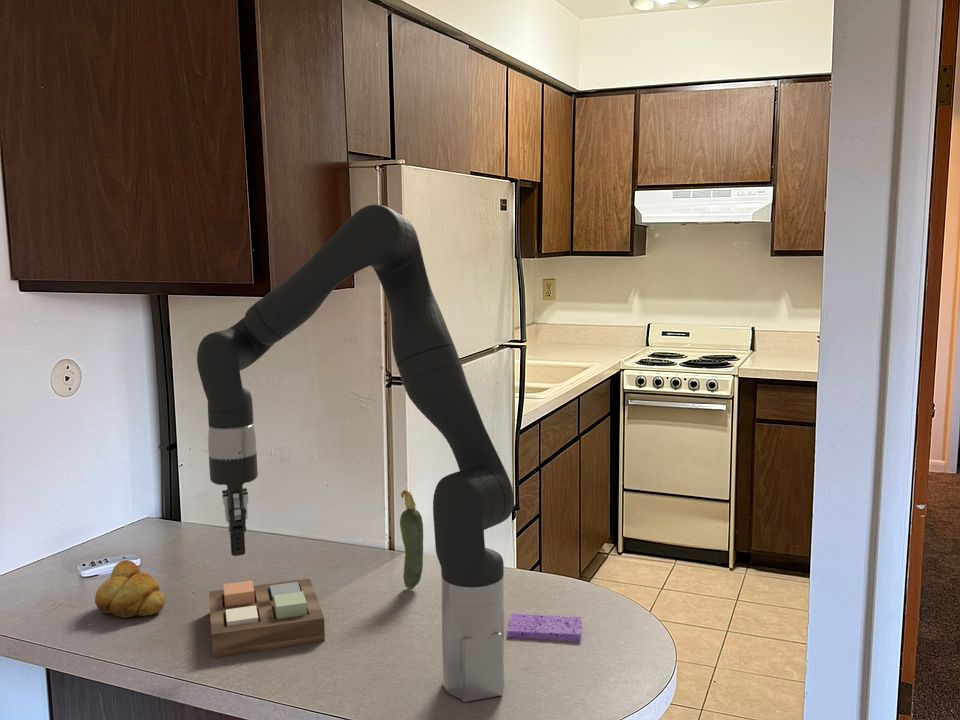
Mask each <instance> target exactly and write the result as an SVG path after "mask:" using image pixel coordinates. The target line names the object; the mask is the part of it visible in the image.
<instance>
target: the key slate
mask: <svg viewBox="0 0 960 720" xmlns="http://www.w3.org/2000/svg"><path fill="white" fill-rule="evenodd" d="M295 592H301V590H300V587H299V584H298V582H293V583H285V584H277V585H270V601H273V600H274V595H280V594H287V593H295Z"/></svg>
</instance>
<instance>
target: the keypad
mask: <svg viewBox="0 0 960 720" xmlns="http://www.w3.org/2000/svg"><path fill="white" fill-rule="evenodd" d="M293 582H298V584H299V587H300V590H301V592H302V591H303V593H304V596H305V599H306V602H307V615H304V616H297V617H290V618H283V619H276V617H275V613H274V600H273V601H270V585H277V584H285V583H293ZM253 586H254V594H255V603H251V604H244V605H236V606H229V607H225V603H224V589H219V590H211V591H208V598H209V601H208V602H209V617H210V632H211V633H210V634H211V649H212V652H211V654H212V658H213V659H214V658H220V657H228V656H233V655H235V656H236V655H240V654H241V655H242V654H246V653H253V652H258V651H259V652H260V651H267V650H271V649H278V648H279V649H280V648H287V647H292V646H297V645H304V644H312V643H318V642H325V641H326V633H325V631H326V630H325V616H324V614H323V611H322V609H321V605H320V603H319V600H318V597H317V594H316V592H315V589H314V586H313V583H312V581H311V578H303V579H302V578H301V579H293V580H287V581H281V582H280V581H279V582H272V583H271V582H270V583H264V584H256V585H253ZM255 605H256V608H257V613H258V622H255V623H248V624H241V625H234V626H227V627H226V609H234V608H241V607H248V606H255Z"/></svg>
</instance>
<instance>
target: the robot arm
mask: <svg viewBox="0 0 960 720" xmlns="http://www.w3.org/2000/svg"><path fill="white" fill-rule="evenodd" d="M418 237H419V236H418V234H417V231H416V229H415V227H414V226H413V224H412V223H411V221H410V220H409V219H408V218H406V217H405V216H404V215H402V214H400V213H399V212H397V211H395V210H394V209H392V208H390V207H388V206H385V205H382V204H369V205H365V206H363V207H362V208H360V209H358V210H357V211H356V212H355V213H354V214H352V215H351V217H349V218H348V219H347V220H346V221H345V222H344V223H343V224H342V225H341V227H340V228H339V229H338V230H337V231H336V232H335V233H334V234H333V235H332V236H331V237H330V238H329V239H328V241H326V243H324V244H323V245H322V246H321V247H320V249H318V251H317V252H315V253H314V254H313V255H312V256H311V257H310V258H309V259H308V260H307V261H305V263H304V264H303V265H302V266H301V267H300V268H299V269H297V270H296V271H295V272H294V273H293V274H291V275H290V276H289V277H288V278H286V279H285V280H284V281H283V282H282V283H280V284H279V285H277V286H276V287H274V288H272V290H270V291H269V292H268V293H267V294H266V295H264V296H263V297H261V298H260V299H259V300H257V301H256V302H255V303H254V304H252V305H251V306H250V307H249V308H248V309H247V311H246V312H245V314H244V317H242V319H240V320H239V321H238V322H236V323H235V324H234V325H232V326H229V328H227V329H222V330H219V331H214V332H210V333H208V334H207V335H206V336H204V337H203V338H202V339H201V341H200V343H199V344H198V347H197V352H196V353H197V354H196V363H197V365H196V366H197V369H198V370H197V371H198V374H199V377H200V381H201V384H202V389H203V391H204V394H205V397H206V400H207V419H208V420H207V421H208V436H207V437H208V438H207V445H208V446H207V449H208V465H209V466H208V467H209V480H210V482H211V483H213V484H214V485H219V486H226V489H224V490H221V494H222V495H221V496H222V503H223V505H224V516H225V521H226V522H227V523H228V526H227V529H228V533H229V539H230V542H229V543H230V552H231V556H233V557H236V556H237V557H238V556H243V555H245V554H246V543H245V542H246V541H245V539H246V538H245V533H246V532H247V531H246V530H247V526H246V522H247V521H246V520H247V519H248V503H249V492H248V489H247V487H243V486H244V484H245V483H250V482H253V481H255V480H256V479H257V478H258V475H259V473H258V456H257V455H258V453H257V452H258V450H257V438H256V437H257V435H256V431H255V425H254V408H253V407H254V406H253V398H252V393H251V392H250V391H249V389H247V388H245V387H243V382H242V378H241V371H243V370H245V369H247V368H248V367H250V366H251V365H253V364H254V363H256V362H257V361H258V360H259V359H260V358H261V357H262V356H264V355H265V354H266V353H267V352H268V351H269V350H270V349H271V348H272V347H273V346H274V345H275V344H276V343H278V342H279V341H281V340H283V339H284V338H285V337H287V336H289V334H291V333H292V332H294V331H295V330H297V329H298V328H300V327H301V326H302V325H303V324H304V323H305V322H307V321H308V320H309V319H310V318H311V317H312V316H313V315H315V313H316V312H317V311H318V309H319V308H320V307H321V306H322V304H323V303H324V302H325V300H326V299H327V297H328V296H329V295H330V294H331V293H332V292H333V291H334V289H336V287H338V286H339V285H340V284H342V282H343V281H345V280H346V279H348V278H349V277H350V276H352V275H354V274H356V273H358V272H360V271H362V270H363V269H365V268H368V267H371V268H372V269H373V270H374V272H375V274H376V275H377V278H378V281H379V282H380V284H381V287H382V290H383V292H384V294H385V296H386V300H387V304H388V307H389V312H390V323H391V327H390V328H391V345H392V352H393V356H394V357H393V358H394V361H395V364H396V367H397V369H398V373H399V375H400V379H401V381H402V384H403V387H404V389H405V392H406V395H407V396H408V398H409V399H410V401H411V402H412V403H413V405H414V406H415V407H416V408H417V409H418V410H419V412H420V413H421V414H422V415H423V416H424V417H425V418H426V419H427V420H428V421H430V423H431V424H432V425H433V426H434V427H435V428H436V429H437V430H438V431H439V432H440V433H441V434H442V436H443V437H444V439H445V440H446V442H447V443H448V445H449V447H450V449H451V451H452V453H453V455H454V458H455V461H456V464H457V467H458V470H459V471H455V472H453V473H450V474H447V475H445V476H444V477H442V478H440V480H439V481H438V482H437V484H436V486H435V489H434V493H433V498H432V514H433V515H432V517H433V528H434V531H433V532H434V546H435V547H434V548H435V553H436V557H437V560H438V562H439V565H440V568H441V569H440V571H441V572H440V573H441V575H440V576H441V631H442V632H441V638H442V639H441V641H442V643H441V644H442V646H441V647H442V654H441V655H442V686H443V689H444V691H445V692H446V693H448V694H449V695H451V696H452V697H455V698H458V699H460V700H461V701H462V702H463V703H468V702H472V701H473V702H474V701H478V700H483V699H484V700H485V699H488V698H494V697H499V696H503V695H504V686H505V649H504V648H505V642H504V641H505V637H504V636H505V633H504V632H505V631H504V628H505V627H504V626H505V624H504V623H505V621H504V620H505V619H504V618H505V617H504V615H505V613H504V612H505V611H504V610H505V609H504V608H505V607H504V606H505V605H504V597H505V596H504V593H505V592H504V589H505V588H504V587H505V586H504V584H505V583H504V582H505V581H504V579H505V578H504V575H505V573H504V569H505V568H504V564H505V563H504V559H503V556H502V555H501V554H500V553H499V552H497V550H496V551H495V550H494V549H492V548H488V547H486V543H485V530H487V529H490V528H493V527H495V526H497V525H500V524H502V523H504V522H505V521H506V520H507V519H509V518H510V516H511V514H512V512H513V510H514V505H515V497H514V496H515V493H514V491H513V486H512V483H511V480H510V477H509V475H508V473H507V470H506V468H505V466H504V464H503V462H502V460H501V459H500V456H499V454H498V451H497V450H496V447H495V446H494V444H493V442H492V440H491V437H490V436H489V435H490V434H489V433H488V431H487V429H486V427H485V425H484V422H483V419H482V417H481V413H480V412H479V410H478V407H477V405H476V401H475V399H474V396H473V394H472V392H471V389H470V387H469V384H468V380H467V378H466V374H465V371H464V368H463V366H462V362H461V360H460V357H459V355H458V351H457V348H456V346H455V344H454V342H453V339H452V335H451V333H450V332H449V329H448V326H447V324H446V321H445V318H444V316H443V313H442V311H441V309H440V306H439V304H438V302H437V300H436V297H435V295H434V292H433V291H432V290H433V289H432V287H431V284H430V280H429V277H428V274H427V269H426V266H425V262H424V257H423V253H422V249H421V245H420V244H421V243H420V241H419V238H418Z"/></svg>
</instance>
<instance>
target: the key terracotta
mask: <svg viewBox="0 0 960 720" xmlns="http://www.w3.org/2000/svg"><path fill="white" fill-rule="evenodd" d="M253 582H254V581H253V580H246V581H237V582H230V583H223V585H222V586H223V590H224V603H225V607H229V606H236V605H244V604H251V603H255V594H254V586H255V585H254V583H253Z"/></svg>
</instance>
